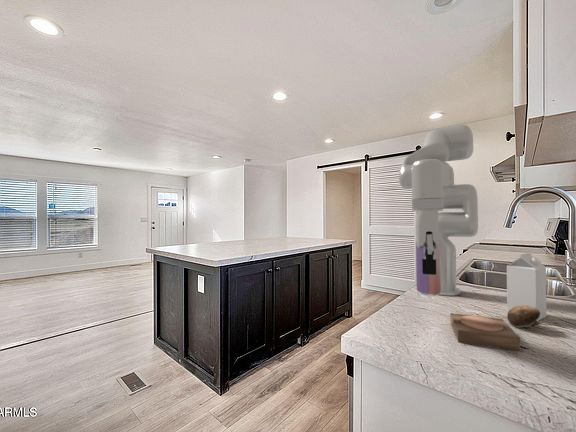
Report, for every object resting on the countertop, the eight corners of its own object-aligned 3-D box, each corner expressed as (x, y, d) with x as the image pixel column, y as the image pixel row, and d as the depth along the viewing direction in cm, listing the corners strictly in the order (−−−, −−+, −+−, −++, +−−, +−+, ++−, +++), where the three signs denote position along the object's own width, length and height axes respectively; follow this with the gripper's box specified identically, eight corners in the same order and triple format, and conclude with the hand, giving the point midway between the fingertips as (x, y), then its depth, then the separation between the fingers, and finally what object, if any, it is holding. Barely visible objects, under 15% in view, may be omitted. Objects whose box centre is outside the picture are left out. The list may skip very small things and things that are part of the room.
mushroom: (554, 317, 72) (536, 297, 74) (545, 336, 68) (525, 314, 70) (524, 322, 79) (507, 303, 80) (514, 339, 75) (497, 318, 76)
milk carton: (506, 314, 83) (506, 252, 83) (517, 309, 87) (516, 250, 87) (536, 322, 77) (536, 255, 77) (546, 317, 81) (546, 253, 80)
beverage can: (416, 294, 73) (415, 239, 73) (417, 288, 78) (416, 237, 78) (441, 297, 70) (440, 240, 70) (440, 290, 76) (439, 237, 75)
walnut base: (450, 323, 77) (450, 311, 77) (502, 330, 72) (502, 317, 72) (458, 342, 66) (458, 327, 66) (520, 351, 61) (520, 335, 61)
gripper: (411, 205, 83) (412, 264, 84) (413, 206, 67) (414, 278, 68) (439, 205, 80) (439, 265, 81) (447, 205, 64) (448, 280, 65)
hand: (428, 270), depth 74 cm, fingers closed on beverage can, 6 cm apart
